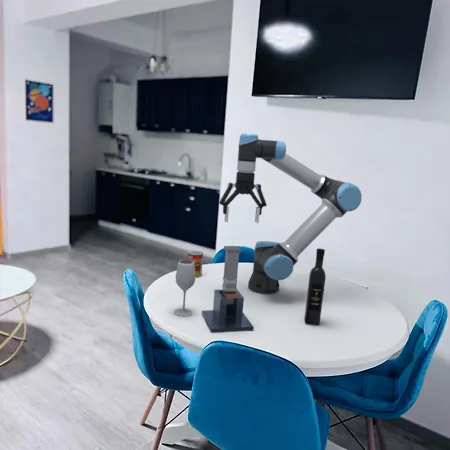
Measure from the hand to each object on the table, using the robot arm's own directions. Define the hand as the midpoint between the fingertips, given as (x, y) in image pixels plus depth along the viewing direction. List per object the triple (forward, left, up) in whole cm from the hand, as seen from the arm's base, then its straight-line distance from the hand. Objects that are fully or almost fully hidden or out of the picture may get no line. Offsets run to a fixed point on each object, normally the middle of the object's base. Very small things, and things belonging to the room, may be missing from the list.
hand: (241, 222), depth 171 cm
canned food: (+12, -33, -35) cm, 50 cm away
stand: (+10, +22, -35) cm, 42 cm away
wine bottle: (-24, +26, -35) cm, 50 cm away
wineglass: (+25, +12, -35) cm, 45 cm away
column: (+10, +22, -27) cm, 36 cm away
